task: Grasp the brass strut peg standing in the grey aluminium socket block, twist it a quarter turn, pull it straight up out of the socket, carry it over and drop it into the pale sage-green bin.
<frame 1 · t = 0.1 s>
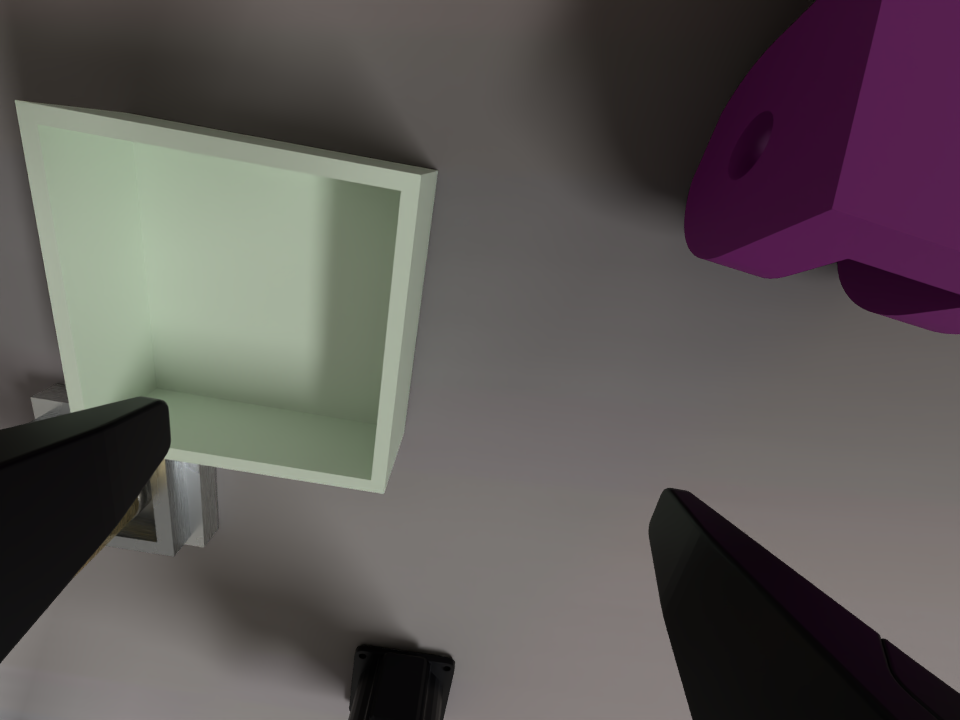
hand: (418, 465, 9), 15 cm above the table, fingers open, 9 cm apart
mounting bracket: (879, 38, 19), on the table
bin: (281, 292, 23), on the table
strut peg: (123, 477, 25), point 1 cm above the table, touching socket block
socket block: (142, 460, 27), on the table
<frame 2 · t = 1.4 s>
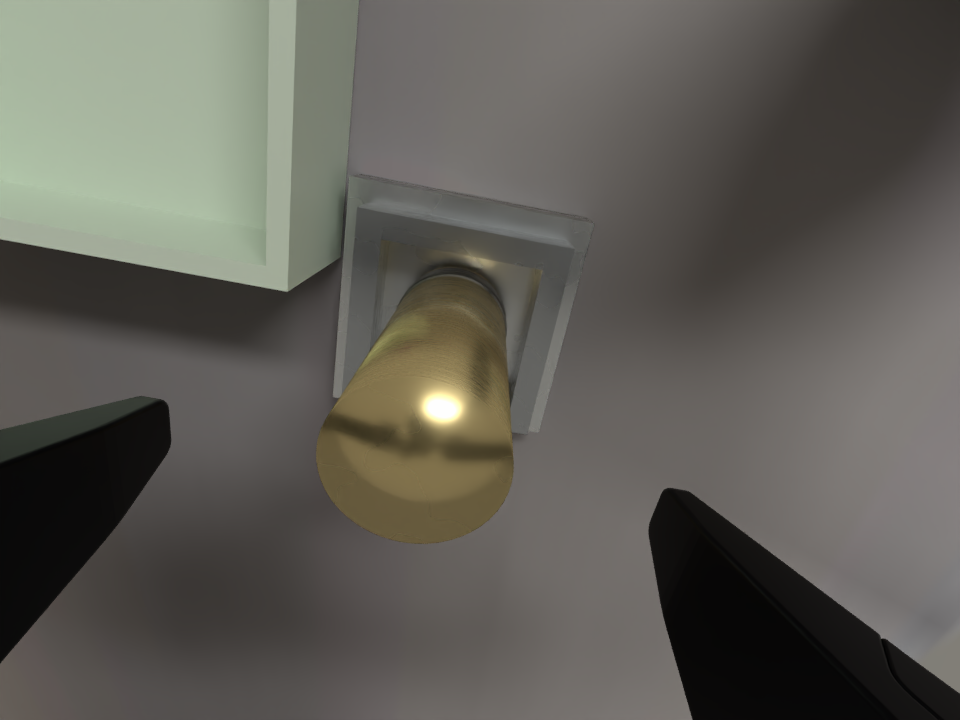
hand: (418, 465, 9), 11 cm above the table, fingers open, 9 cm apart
bin: (147, 12, 15), on the table
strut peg: (453, 317, 17), point 1 cm above the table, touching socket block
socket block: (456, 305, 19), on the table
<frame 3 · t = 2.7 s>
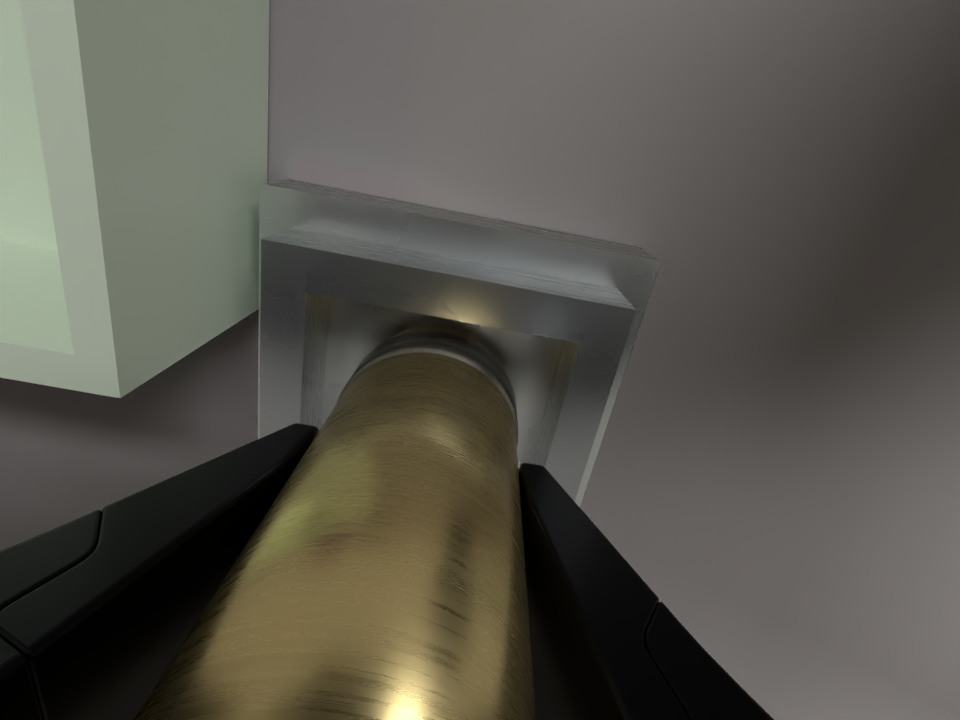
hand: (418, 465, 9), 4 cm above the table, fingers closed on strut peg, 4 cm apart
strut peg: (434, 400, 11), point 1 cm above the table, touching gripper, socket block
socket block: (441, 373, 13), on the table
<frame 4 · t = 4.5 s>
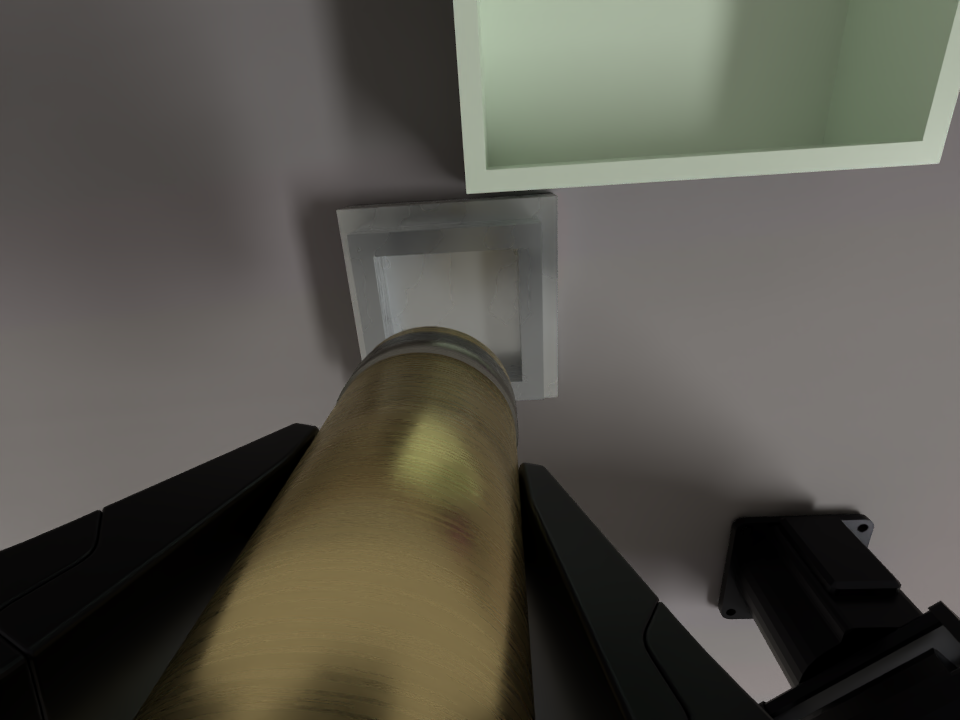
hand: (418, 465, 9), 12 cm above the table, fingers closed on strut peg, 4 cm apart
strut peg: (434, 401, 11), point 10 cm above the table, touching gripper
socket block: (457, 299, 20), on the table
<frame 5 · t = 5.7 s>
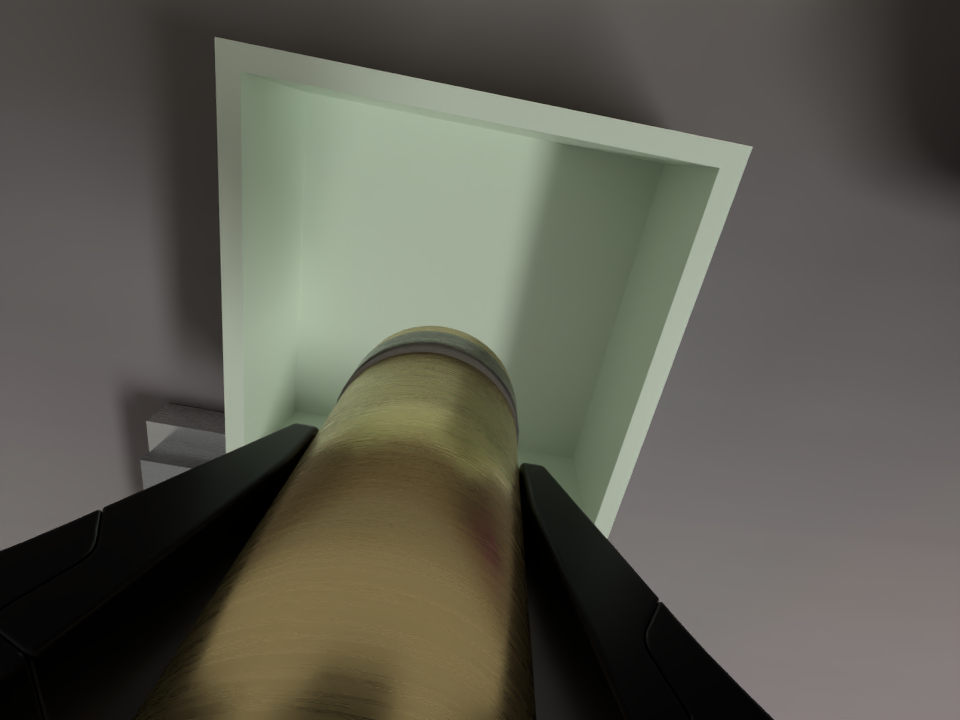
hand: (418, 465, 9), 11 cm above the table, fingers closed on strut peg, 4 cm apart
bin: (459, 296, 19), on the table
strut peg: (434, 400, 11), point 8 cm above the table, touching gripper
socket block: (261, 493, 23), on the table
when the fingers open (6 cm above the table, at t = 6.7 s): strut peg drops 3 cm, resting on bin.
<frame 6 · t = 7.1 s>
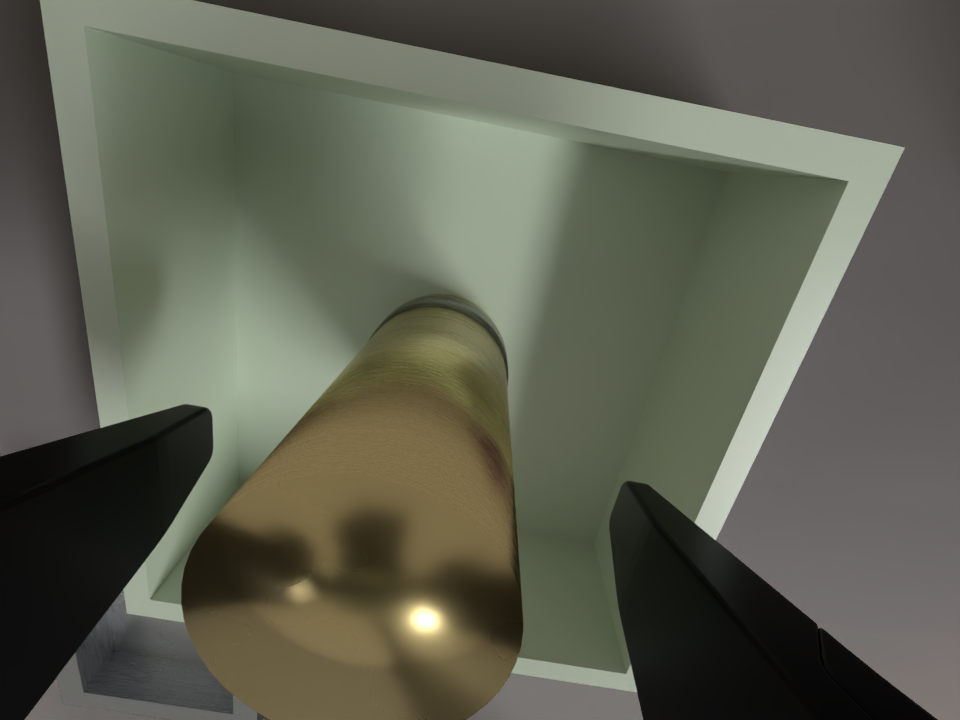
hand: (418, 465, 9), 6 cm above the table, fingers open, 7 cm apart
bin: (448, 344, 14), on the table
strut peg: (440, 357, 14), point 1 cm above the table, touching bin
socket block: (205, 578, 18), on the table
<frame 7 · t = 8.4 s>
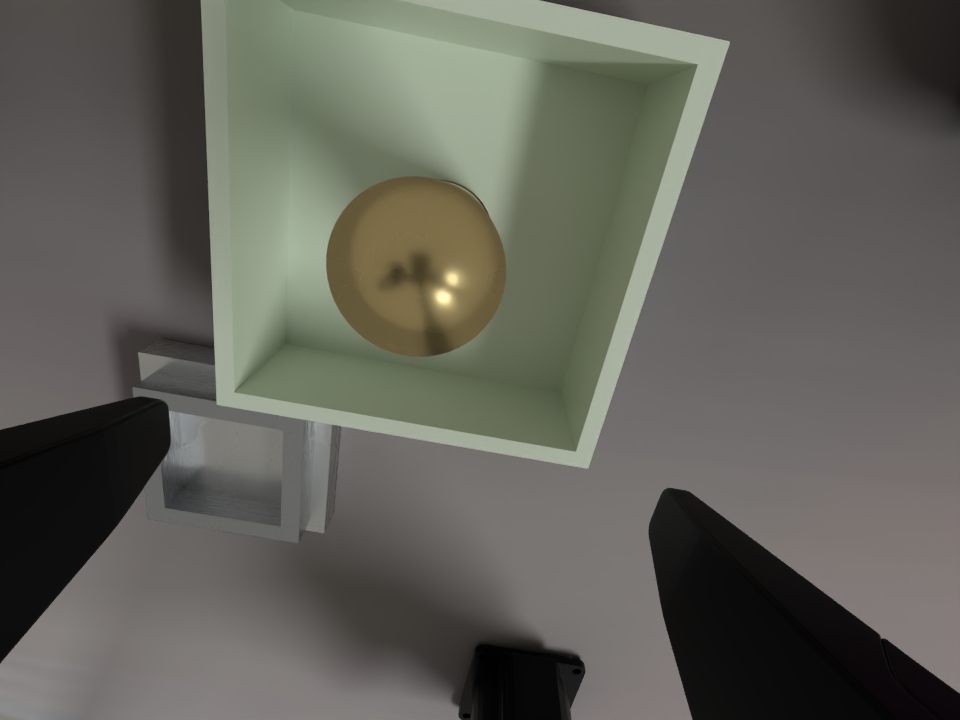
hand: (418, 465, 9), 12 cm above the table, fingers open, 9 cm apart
bin: (447, 226, 19), on the table
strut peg: (442, 232, 18), point 1 cm above the table, touching bin
socket block: (254, 432, 23), on the table
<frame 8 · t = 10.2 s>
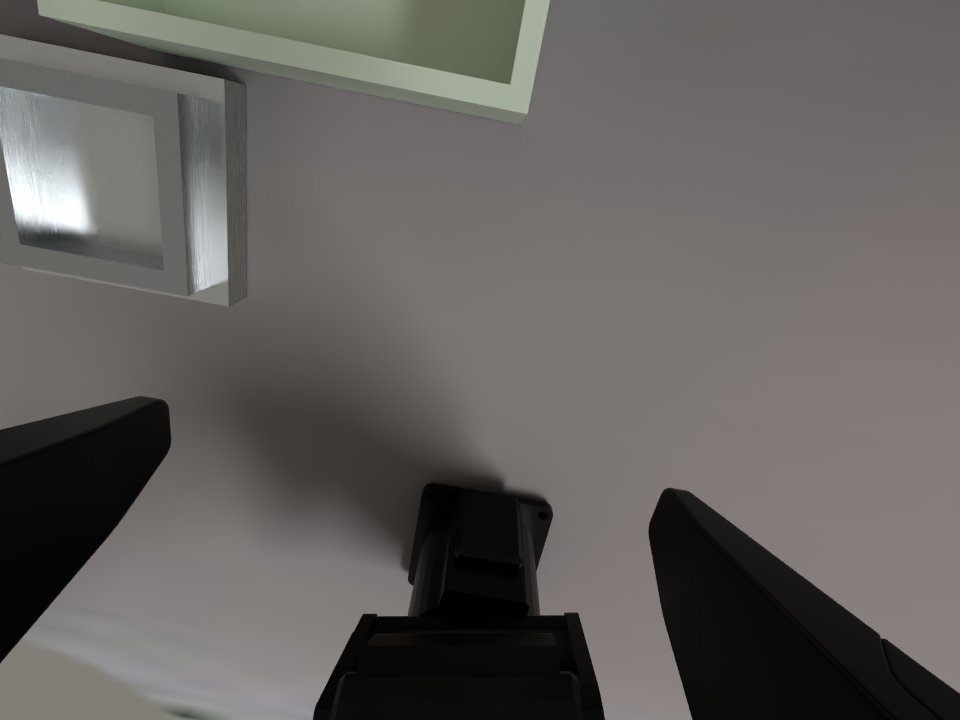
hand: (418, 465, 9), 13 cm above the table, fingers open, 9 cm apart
socket block: (143, 179, 19), on the table
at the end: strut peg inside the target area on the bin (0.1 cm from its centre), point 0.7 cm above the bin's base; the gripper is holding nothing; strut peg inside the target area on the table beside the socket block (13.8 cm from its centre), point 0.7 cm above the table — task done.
